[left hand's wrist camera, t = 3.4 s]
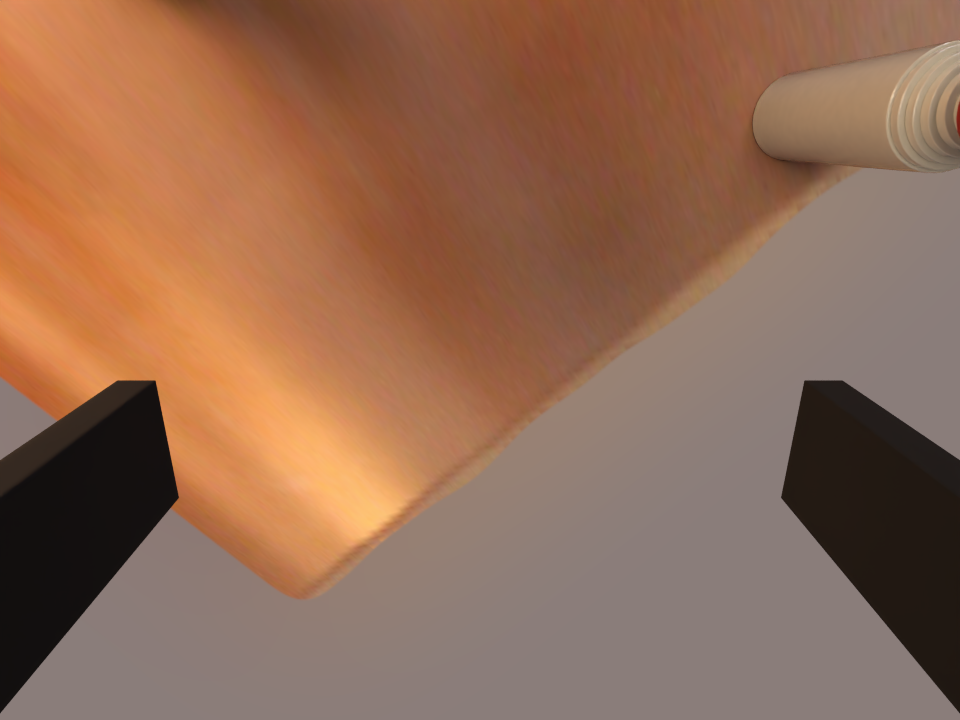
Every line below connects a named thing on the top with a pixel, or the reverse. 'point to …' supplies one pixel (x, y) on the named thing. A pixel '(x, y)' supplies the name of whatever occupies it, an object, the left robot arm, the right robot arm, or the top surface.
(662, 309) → the top surface
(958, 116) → the cap
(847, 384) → the left robot arm
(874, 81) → the bottle
